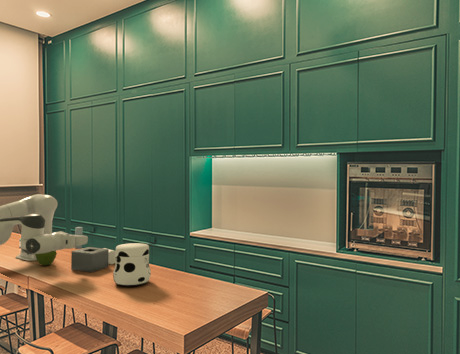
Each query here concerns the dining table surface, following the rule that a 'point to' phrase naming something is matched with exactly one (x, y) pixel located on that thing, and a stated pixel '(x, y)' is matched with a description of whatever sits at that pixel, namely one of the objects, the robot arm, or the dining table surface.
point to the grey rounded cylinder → (78, 232)
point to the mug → (111, 256)
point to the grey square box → (89, 259)
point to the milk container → (132, 264)
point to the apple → (46, 258)
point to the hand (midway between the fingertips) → (80, 236)
